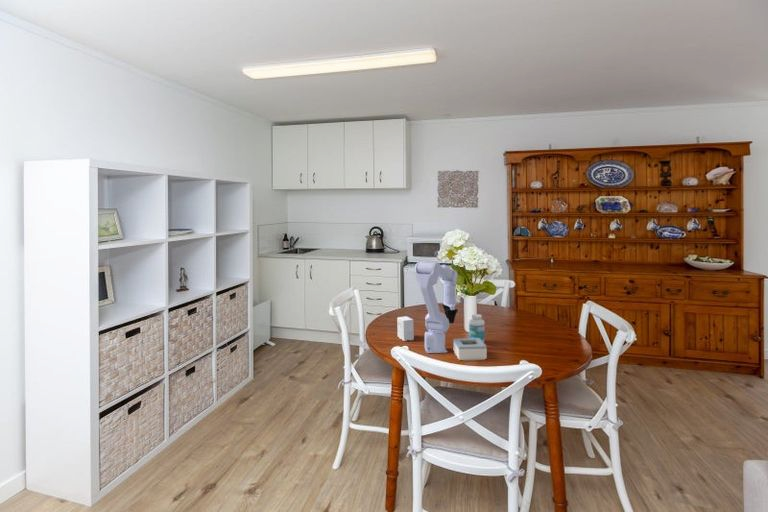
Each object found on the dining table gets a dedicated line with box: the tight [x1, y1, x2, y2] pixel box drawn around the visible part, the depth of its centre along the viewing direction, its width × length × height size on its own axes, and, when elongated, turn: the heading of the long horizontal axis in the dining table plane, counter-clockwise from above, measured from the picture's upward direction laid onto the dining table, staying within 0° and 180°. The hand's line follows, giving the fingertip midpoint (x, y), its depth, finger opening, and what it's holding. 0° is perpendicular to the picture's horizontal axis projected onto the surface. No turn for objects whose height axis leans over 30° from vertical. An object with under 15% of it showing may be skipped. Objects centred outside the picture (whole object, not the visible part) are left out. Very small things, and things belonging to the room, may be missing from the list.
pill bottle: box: [468, 313, 486, 344], centre depth 204 cm, size 8×7×14 cm
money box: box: [452, 337, 488, 361], centre depth 186 cm, size 12×12×6 cm
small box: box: [396, 315, 415, 342], centre depth 211 cm, size 8×6×10 cm
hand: (449, 320), depth 205 cm, fingers open, 7 cm apart
